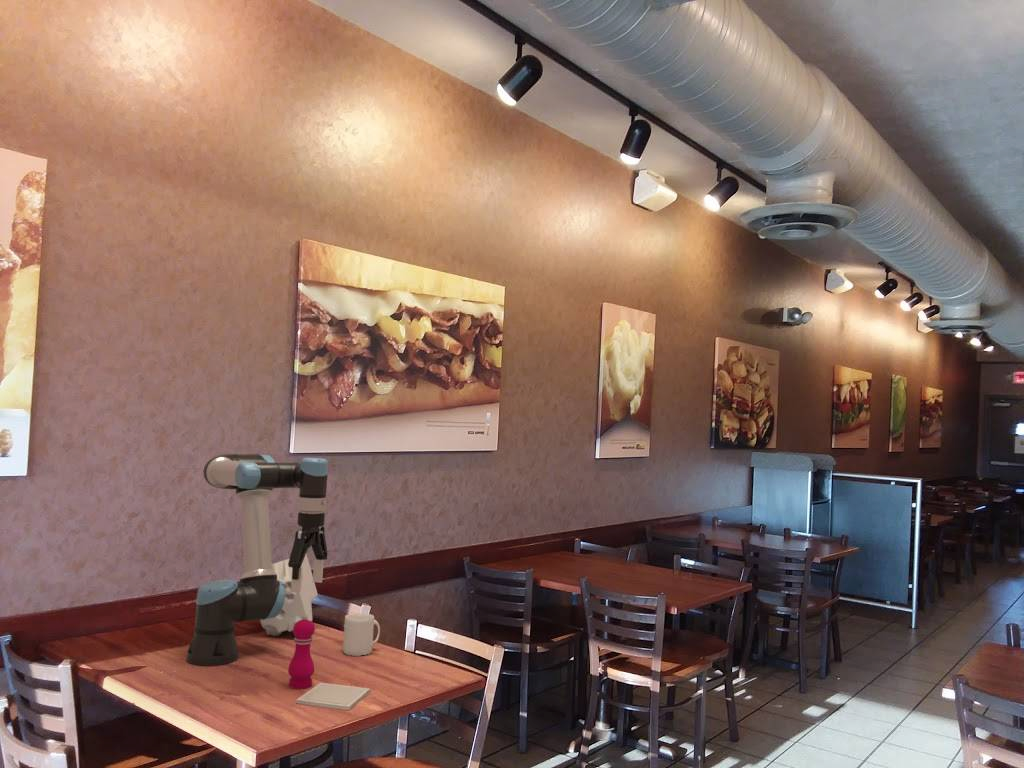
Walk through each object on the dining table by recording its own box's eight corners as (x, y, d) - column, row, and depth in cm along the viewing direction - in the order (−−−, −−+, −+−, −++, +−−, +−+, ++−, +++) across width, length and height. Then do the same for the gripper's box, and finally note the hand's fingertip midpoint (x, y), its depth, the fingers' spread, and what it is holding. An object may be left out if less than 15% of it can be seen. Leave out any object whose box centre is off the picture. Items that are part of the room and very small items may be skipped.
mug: (336, 651, 262) (339, 615, 263) (366, 645, 271) (368, 610, 272) (354, 658, 256) (356, 621, 257) (384, 652, 265) (386, 616, 265)
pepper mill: (290, 690, 223) (294, 618, 224) (284, 682, 230) (289, 612, 231) (316, 688, 227) (320, 616, 228) (310, 680, 233) (314, 610, 234)
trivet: (296, 703, 214) (296, 699, 214) (320, 686, 228) (320, 682, 229) (348, 710, 211) (348, 706, 211) (370, 692, 225) (370, 688, 225)
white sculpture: (310, 633, 272) (290, 562, 274) (265, 647, 272) (245, 575, 274) (325, 619, 292) (306, 553, 294) (283, 632, 292) (265, 566, 294)
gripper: (303, 517, 218) (298, 596, 216) (341, 508, 242) (337, 579, 241) (278, 515, 219) (273, 593, 218) (318, 507, 244) (314, 577, 242)
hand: (306, 586), depth 229 cm, fingers open, 13 cm apart
